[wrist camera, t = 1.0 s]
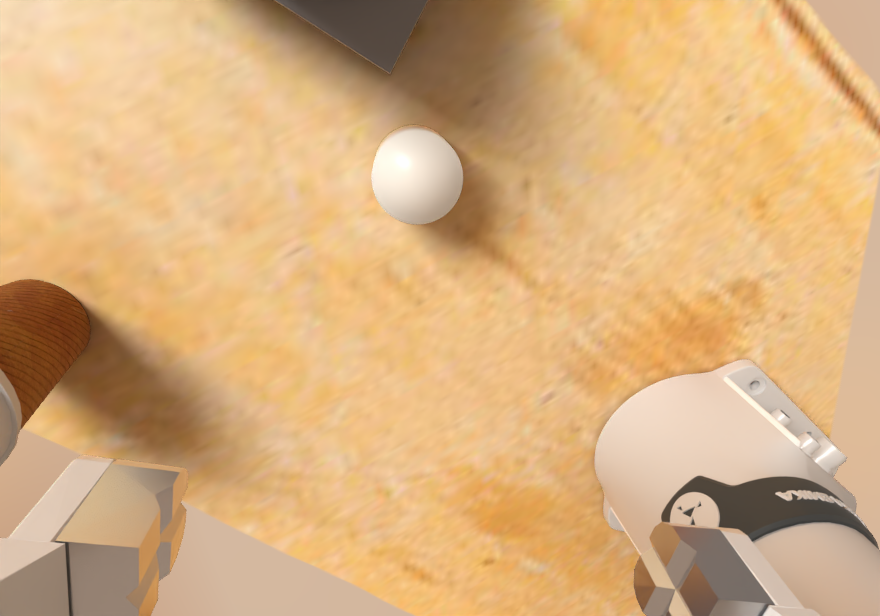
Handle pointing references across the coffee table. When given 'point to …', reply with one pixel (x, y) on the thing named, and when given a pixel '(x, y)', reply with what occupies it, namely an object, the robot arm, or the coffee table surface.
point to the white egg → (416, 175)
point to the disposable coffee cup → (34, 349)
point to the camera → (363, 24)
